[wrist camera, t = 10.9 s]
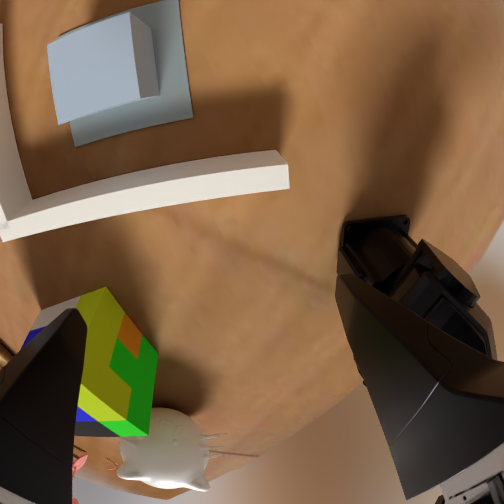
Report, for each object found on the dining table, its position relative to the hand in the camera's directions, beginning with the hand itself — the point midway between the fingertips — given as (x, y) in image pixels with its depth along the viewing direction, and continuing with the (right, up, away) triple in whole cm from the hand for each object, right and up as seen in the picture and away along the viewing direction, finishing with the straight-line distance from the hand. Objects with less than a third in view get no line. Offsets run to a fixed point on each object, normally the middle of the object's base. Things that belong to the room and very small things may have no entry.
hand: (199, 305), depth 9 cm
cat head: (-11, -22, +28) cm, 37 cm away
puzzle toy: (-15, -7, +18) cm, 24 cm away
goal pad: (-7, +14, +6) cm, 17 cm away
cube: (-7, +14, +6) cm, 16 cm away
